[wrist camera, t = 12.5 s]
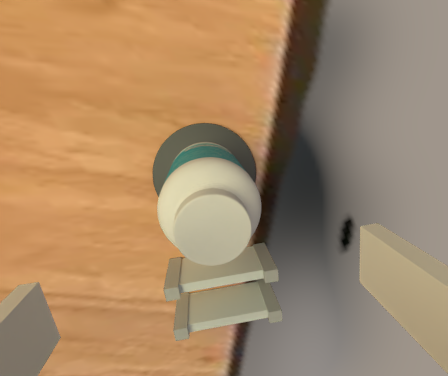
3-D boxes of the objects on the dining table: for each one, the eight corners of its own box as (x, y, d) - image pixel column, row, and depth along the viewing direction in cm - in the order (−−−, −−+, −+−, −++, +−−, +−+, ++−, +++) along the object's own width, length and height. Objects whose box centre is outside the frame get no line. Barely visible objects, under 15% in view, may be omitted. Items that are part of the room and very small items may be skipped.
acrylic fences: (179, 303, 33) (175, 341, 28) (169, 258, 31) (163, 289, 26) (268, 287, 34) (282, 320, 28) (264, 242, 32) (277, 269, 26)
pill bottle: (156, 162, 27) (120, 209, 15) (219, 127, 27) (239, 143, 14) (193, 220, 30) (190, 304, 17) (251, 188, 29) (294, 250, 16)
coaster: (164, 229, 30) (164, 230, 30) (143, 131, 27) (142, 131, 27) (259, 213, 31) (260, 215, 30) (249, 116, 27) (250, 116, 27)
